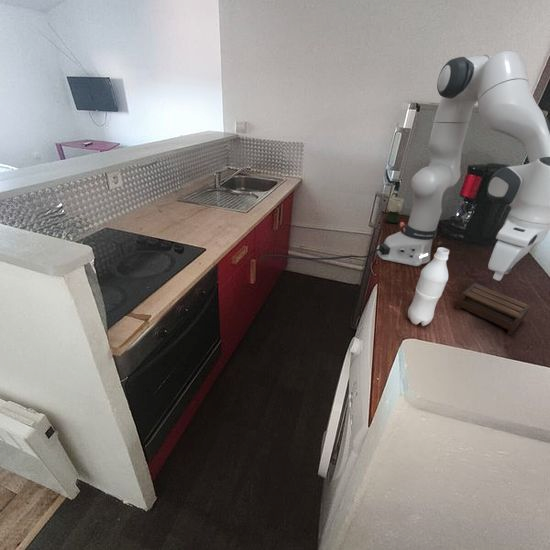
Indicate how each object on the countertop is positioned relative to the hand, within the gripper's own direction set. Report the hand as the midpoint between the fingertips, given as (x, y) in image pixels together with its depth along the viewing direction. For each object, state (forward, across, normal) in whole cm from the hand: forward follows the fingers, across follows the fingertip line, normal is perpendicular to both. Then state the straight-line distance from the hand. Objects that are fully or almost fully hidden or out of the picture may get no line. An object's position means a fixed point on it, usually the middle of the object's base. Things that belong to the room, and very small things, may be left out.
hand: (500, 275), depth 80 cm
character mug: (+19, -58, -66) cm, 90 cm away
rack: (+19, -10, 0) cm, 22 cm away
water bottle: (+19, +11, -12) cm, 25 cm away
